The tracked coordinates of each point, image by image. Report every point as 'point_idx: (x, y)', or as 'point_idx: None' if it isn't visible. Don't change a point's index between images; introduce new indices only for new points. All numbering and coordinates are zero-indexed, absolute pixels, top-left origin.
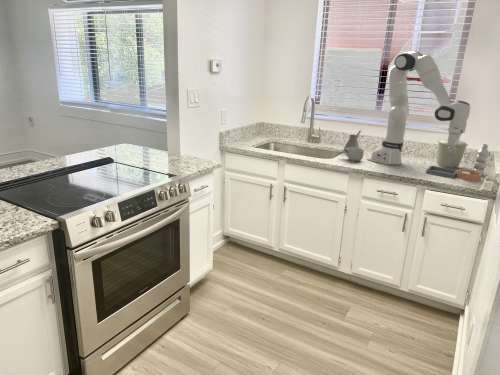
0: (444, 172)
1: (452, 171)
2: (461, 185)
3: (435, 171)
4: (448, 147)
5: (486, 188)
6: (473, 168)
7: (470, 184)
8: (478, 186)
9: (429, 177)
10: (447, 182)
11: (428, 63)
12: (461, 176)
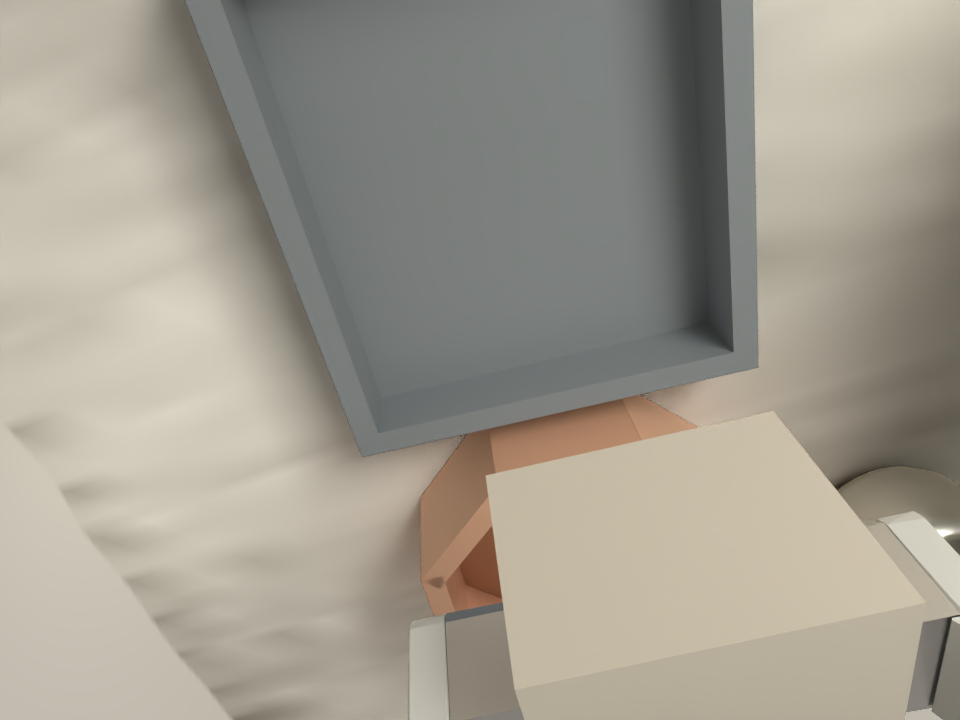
0: (621, 178)
1: (717, 287)
2: (183, 567)
3: (244, 151)
4: (568, 699)
5: (363, 714)
6: (936, 530)
7: (352, 598)
8: (358, 660)
9: (49, 118)
10: (111, 427)
11: None
12: (439, 512)
